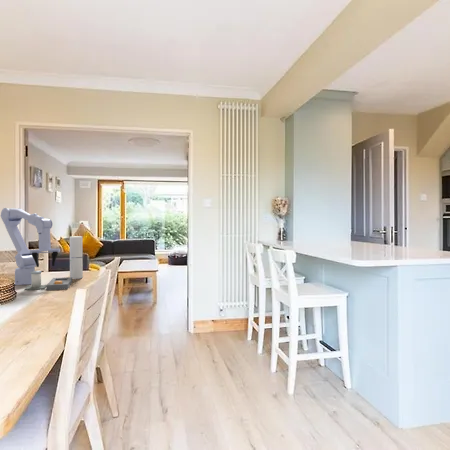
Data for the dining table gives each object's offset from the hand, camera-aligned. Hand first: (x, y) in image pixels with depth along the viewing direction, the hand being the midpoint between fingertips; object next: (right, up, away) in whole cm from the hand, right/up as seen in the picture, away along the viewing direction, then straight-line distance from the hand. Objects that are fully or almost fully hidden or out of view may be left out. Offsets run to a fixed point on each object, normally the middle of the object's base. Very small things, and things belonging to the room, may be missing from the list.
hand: (45, 266), depth 194 cm
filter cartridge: (-2, -10, -6) cm, 12 cm away
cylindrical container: (+6, -10, +24) cm, 27 cm away
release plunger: (+10, -10, -6) cm, 15 cm away
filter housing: (+8, -10, +1) cm, 13 cm away
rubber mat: (-2, -11, -6) cm, 12 cm away
